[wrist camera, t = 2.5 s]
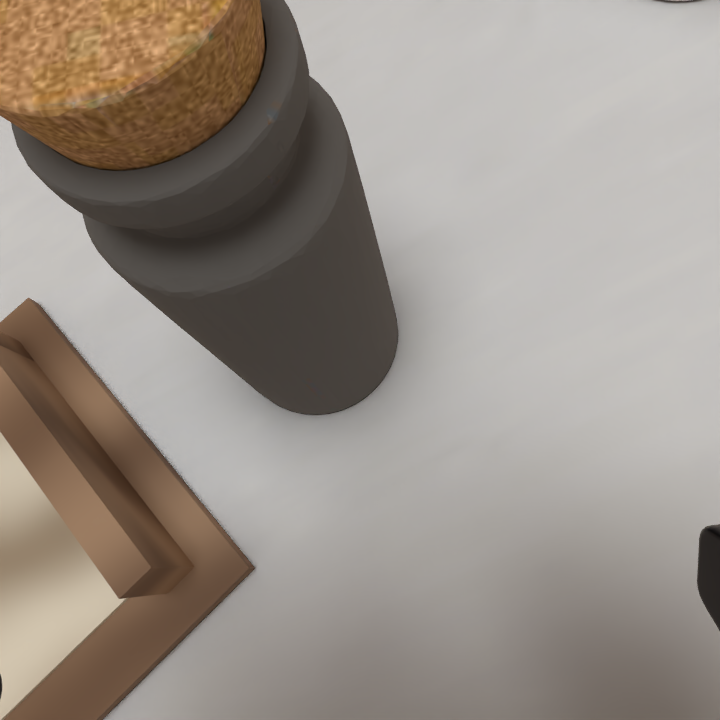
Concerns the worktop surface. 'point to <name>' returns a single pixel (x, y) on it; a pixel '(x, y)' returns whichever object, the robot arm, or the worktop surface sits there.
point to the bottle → (209, 181)
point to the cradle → (90, 536)
